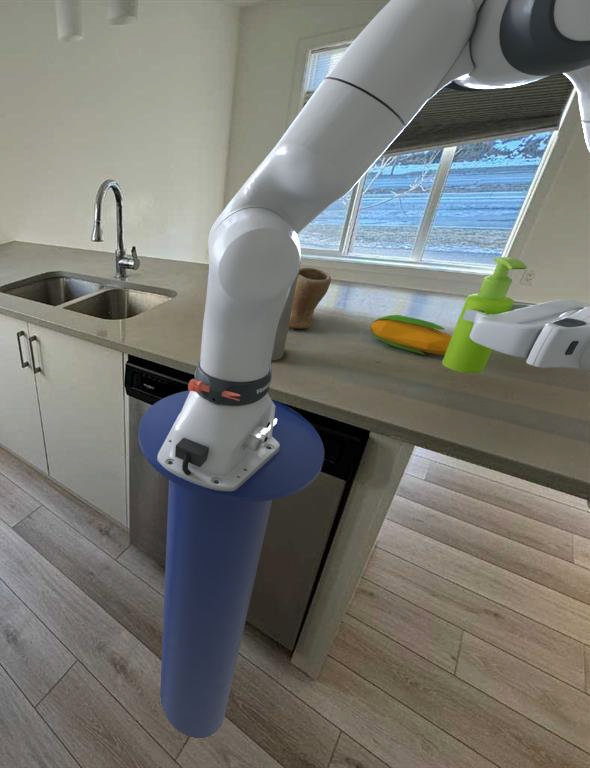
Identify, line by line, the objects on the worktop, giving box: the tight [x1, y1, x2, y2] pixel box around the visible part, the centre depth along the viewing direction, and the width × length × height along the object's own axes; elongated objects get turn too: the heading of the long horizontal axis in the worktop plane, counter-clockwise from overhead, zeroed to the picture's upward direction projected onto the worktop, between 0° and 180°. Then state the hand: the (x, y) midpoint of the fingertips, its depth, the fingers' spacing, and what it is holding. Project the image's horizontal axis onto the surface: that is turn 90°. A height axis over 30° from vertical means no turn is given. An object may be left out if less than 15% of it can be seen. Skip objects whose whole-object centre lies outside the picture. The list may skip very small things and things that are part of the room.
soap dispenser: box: [441, 256, 528, 374], centre depth 70 cm, size 6×7×20 cm
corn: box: [370, 314, 452, 356], centre depth 93 cm, size 7×8×20 cm
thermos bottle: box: [271, 235, 301, 361], centre depth 93 cm, size 8×8×28 cm
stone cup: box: [288, 267, 332, 330], centre depth 111 cm, size 15×12×15 cm
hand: (482, 309), depth 71 cm, fingers closed on soap dispenser, 6 cm apart
